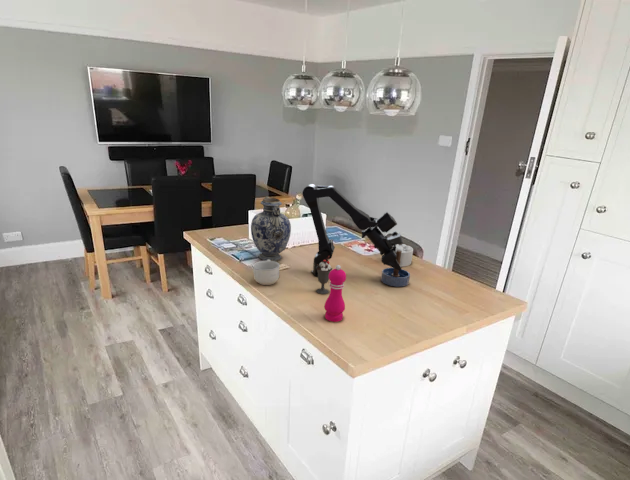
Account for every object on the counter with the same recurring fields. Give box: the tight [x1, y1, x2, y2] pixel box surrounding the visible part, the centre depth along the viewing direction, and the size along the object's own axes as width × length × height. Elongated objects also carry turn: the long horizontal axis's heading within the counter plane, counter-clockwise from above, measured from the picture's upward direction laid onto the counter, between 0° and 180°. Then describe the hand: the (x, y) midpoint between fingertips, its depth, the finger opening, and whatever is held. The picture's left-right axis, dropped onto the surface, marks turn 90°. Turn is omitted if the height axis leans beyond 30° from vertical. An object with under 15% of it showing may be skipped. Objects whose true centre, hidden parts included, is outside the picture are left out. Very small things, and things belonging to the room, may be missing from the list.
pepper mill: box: [324, 264, 347, 323], centre depth 144 cm, size 7×7×20 cm
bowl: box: [380, 267, 411, 288], centre depth 183 cm, size 12×12×4 cm
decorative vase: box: [250, 195, 292, 262], centre depth 196 cm, size 21×19×28 cm
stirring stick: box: [391, 250, 402, 277], centre depth 181 cm, size 4×4×14 cm
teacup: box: [252, 260, 280, 286], centre depth 173 cm, size 14×11×8 cm
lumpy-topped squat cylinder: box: [396, 243, 414, 268], centre depth 207 cm, size 10×13×9 cm
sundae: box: [316, 256, 333, 295], centre depth 166 cm, size 7×7×15 cm
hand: (400, 266), depth 181 cm, fingers open, 9 cm apart
